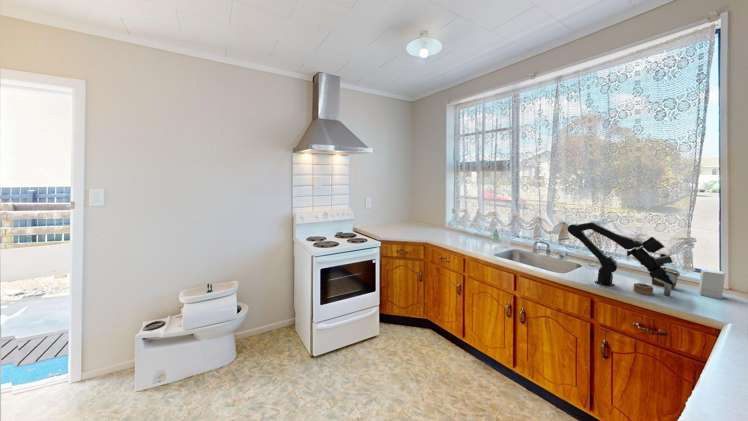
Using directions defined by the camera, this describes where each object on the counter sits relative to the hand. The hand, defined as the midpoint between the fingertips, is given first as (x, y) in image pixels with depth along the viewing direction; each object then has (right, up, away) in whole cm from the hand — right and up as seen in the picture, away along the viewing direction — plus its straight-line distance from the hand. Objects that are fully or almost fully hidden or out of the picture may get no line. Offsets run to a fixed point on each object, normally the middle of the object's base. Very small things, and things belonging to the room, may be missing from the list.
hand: (672, 283), depth 146 cm
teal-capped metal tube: (-1, -6, +2) cm, 7 cm away
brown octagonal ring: (-9, -6, +6) cm, 12 cm away
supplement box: (+22, -7, +3) cm, 23 cm away
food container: (+12, -6, +15) cm, 20 cm away
